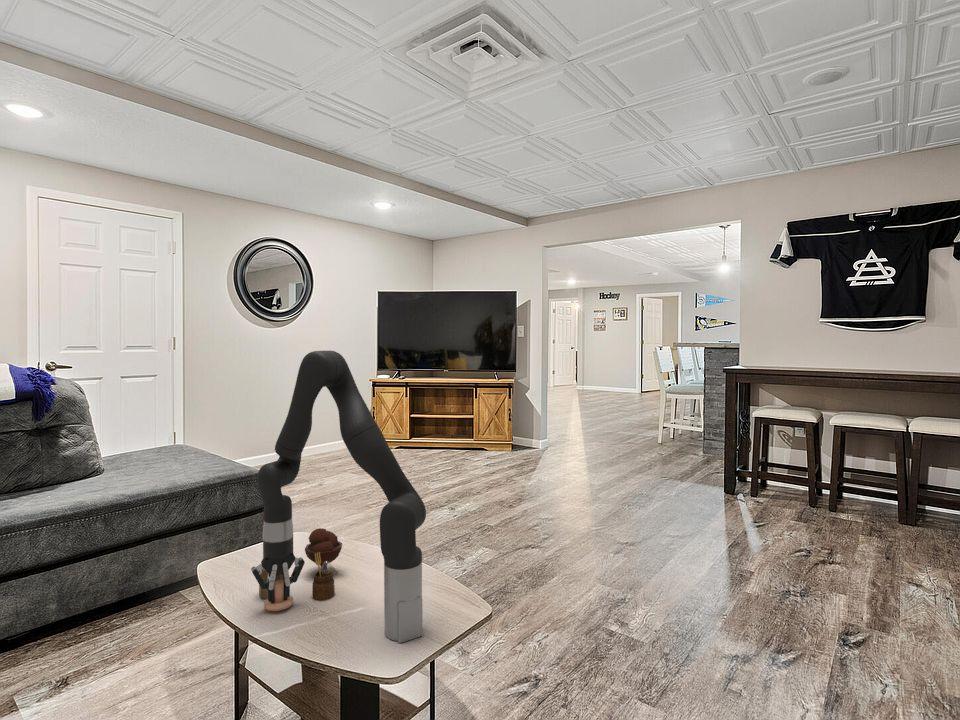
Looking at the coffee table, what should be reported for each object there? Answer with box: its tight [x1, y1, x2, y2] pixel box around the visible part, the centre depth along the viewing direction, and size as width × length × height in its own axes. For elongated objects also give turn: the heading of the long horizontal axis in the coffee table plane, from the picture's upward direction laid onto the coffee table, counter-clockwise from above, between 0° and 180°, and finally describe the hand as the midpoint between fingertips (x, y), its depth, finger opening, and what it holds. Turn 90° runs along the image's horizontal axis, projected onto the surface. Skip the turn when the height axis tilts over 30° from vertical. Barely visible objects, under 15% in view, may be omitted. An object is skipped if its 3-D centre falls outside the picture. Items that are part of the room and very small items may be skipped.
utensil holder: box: [311, 552, 336, 602], centre depth 149 cm, size 6×6×12 cm
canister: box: [258, 568, 283, 601], centre depth 150 cm, size 6×6×9 cm
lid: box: [263, 580, 294, 612], centre depth 142 cm, size 7×7×6 cm
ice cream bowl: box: [304, 527, 343, 571], centre depth 163 cm, size 11×11×15 cm
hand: (278, 600), depth 142 cm, fingers closed on lid, 2 cm apart
